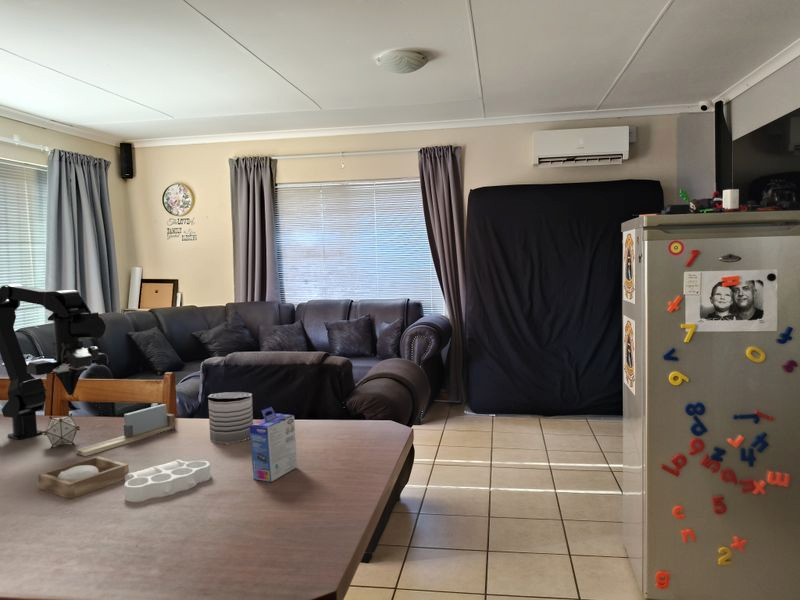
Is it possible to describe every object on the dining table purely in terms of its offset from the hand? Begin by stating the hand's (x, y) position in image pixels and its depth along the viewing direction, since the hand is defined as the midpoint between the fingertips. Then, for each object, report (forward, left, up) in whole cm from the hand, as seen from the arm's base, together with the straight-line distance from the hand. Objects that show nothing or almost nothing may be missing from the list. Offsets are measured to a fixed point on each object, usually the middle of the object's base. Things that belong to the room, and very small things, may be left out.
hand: (70, 394), depth 157 cm
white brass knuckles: (+50, -8, -13) cm, 52 cm away
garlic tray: (+33, -16, -12) cm, 39 cm away
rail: (+14, +7, -12) cm, 20 cm away
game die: (+2, -4, -13) cm, 13 cm away
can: (+37, +22, -13) cm, 45 cm away
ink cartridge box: (+66, +8, -13) cm, 68 cm away
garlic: (+33, -17, -13) cm, 39 cm away
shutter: (+14, +12, -11) cm, 22 cm away
